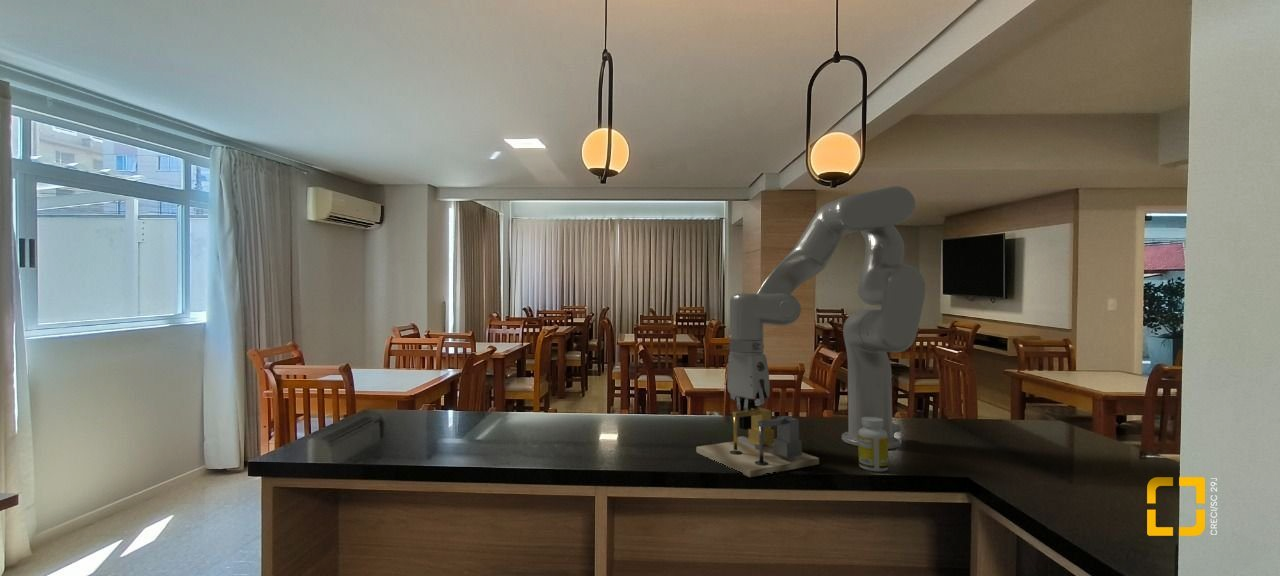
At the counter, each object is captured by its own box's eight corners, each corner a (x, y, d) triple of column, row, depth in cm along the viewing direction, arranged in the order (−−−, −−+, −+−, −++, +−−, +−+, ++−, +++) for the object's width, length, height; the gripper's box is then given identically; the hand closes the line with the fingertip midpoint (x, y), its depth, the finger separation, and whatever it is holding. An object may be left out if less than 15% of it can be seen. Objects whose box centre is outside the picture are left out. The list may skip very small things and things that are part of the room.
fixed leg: (789, 454, 102) (788, 415, 102) (801, 458, 98) (801, 418, 99) (753, 460, 97) (753, 419, 98) (766, 465, 94) (765, 423, 95)
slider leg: (762, 442, 109) (762, 407, 109) (773, 446, 106) (773, 410, 106) (728, 447, 105) (728, 410, 105) (739, 451, 101) (739, 414, 102)
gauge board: (759, 442, 116) (759, 433, 116) (819, 464, 100) (818, 453, 100) (696, 452, 107) (696, 442, 108) (749, 477, 91) (749, 465, 92)
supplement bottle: (885, 465, 99) (884, 416, 100) (891, 473, 94) (890, 422, 95) (856, 462, 101) (855, 415, 101) (860, 471, 96) (860, 420, 96)
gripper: (782, 349, 107) (782, 434, 106) (738, 344, 120) (739, 420, 119) (755, 350, 103) (755, 438, 102) (713, 345, 117) (714, 423, 116)
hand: (746, 428), depth 111 cm, fingers closed
